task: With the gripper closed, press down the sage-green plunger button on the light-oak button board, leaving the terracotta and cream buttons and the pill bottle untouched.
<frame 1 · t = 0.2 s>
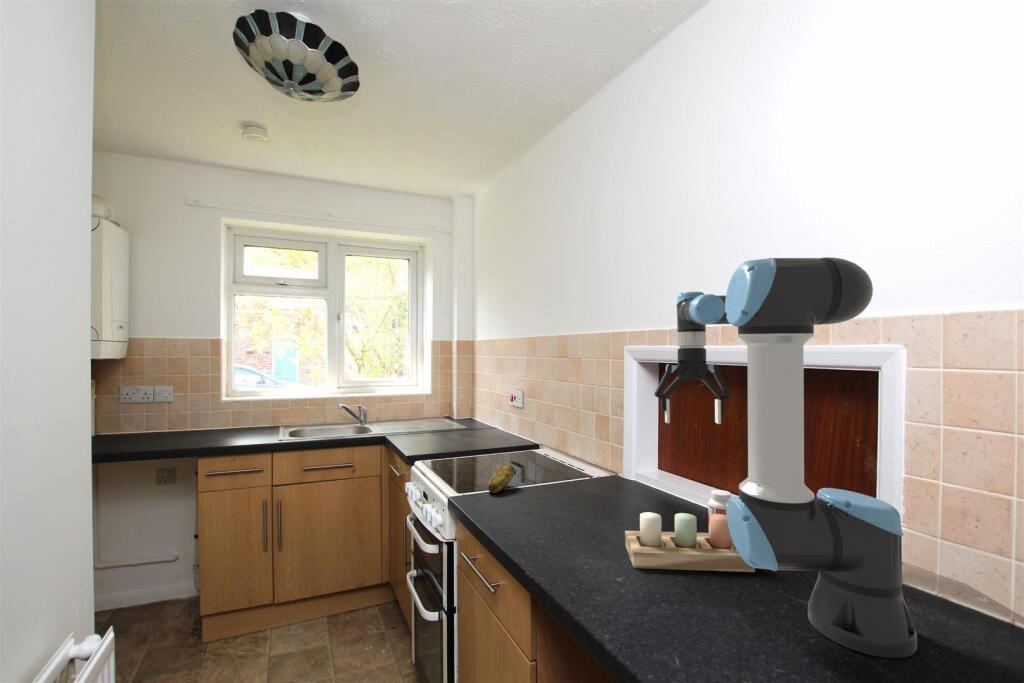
hand: (692, 423, 130), 28 cm above the worktop, fingers open, 13 cm apart
button terracotta: (721, 530, 107), point 7 cm above the worktop, slide at 0.0 cm
potato: (500, 490, 160), on the worktop
button cream: (650, 528, 109), point 7 cm above the worktop, slide at 0.0 cm
pill bottle: (721, 535, 121), on the worktop
button green: (685, 529, 108), point 7 cm above the worktop, slide at 0.0 cm
board: (685, 557, 108), on the worktop
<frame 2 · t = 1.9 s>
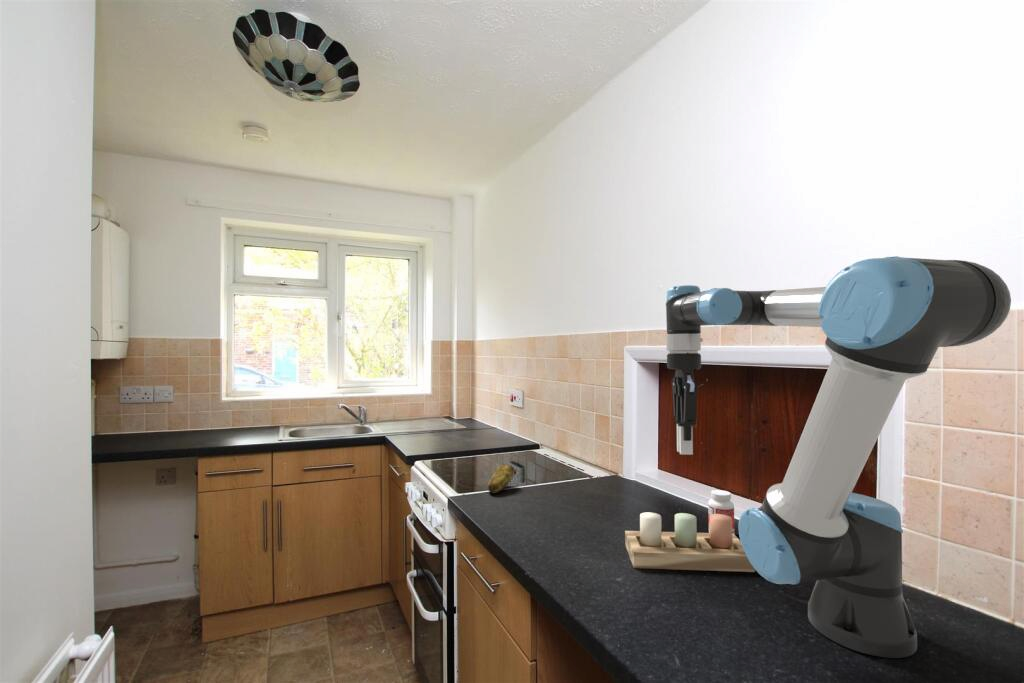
hand: (684, 452, 108), 24 cm above the worktop, fingers closed
nothing on the worktop moved.
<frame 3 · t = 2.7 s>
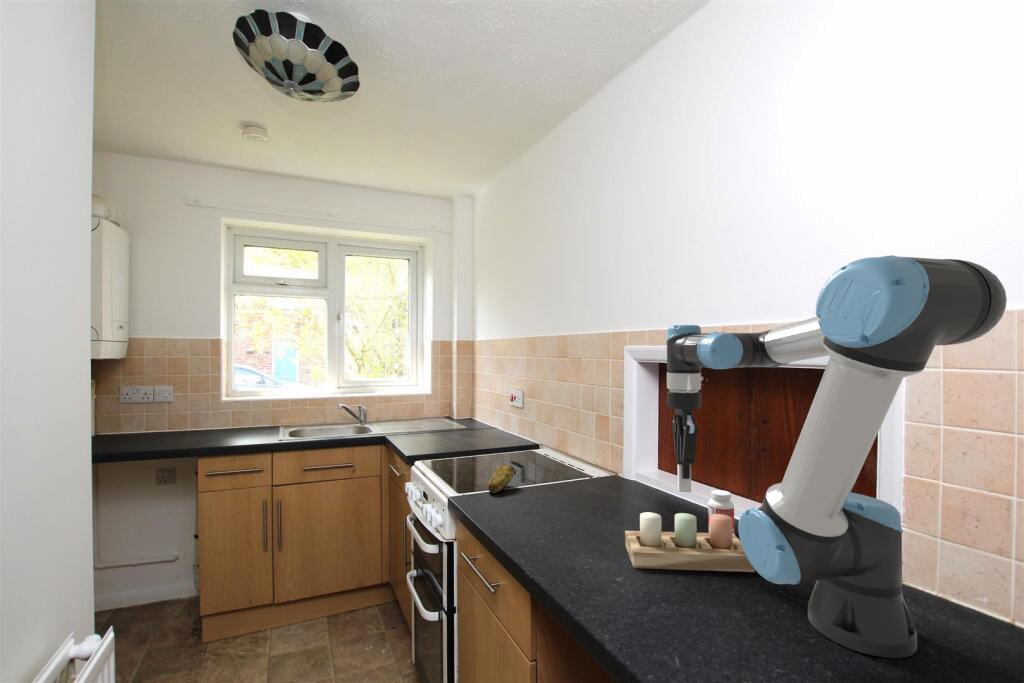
hand: (684, 491, 109), 15 cm above the worktop, fingers closed
nothing on the worktop moved.
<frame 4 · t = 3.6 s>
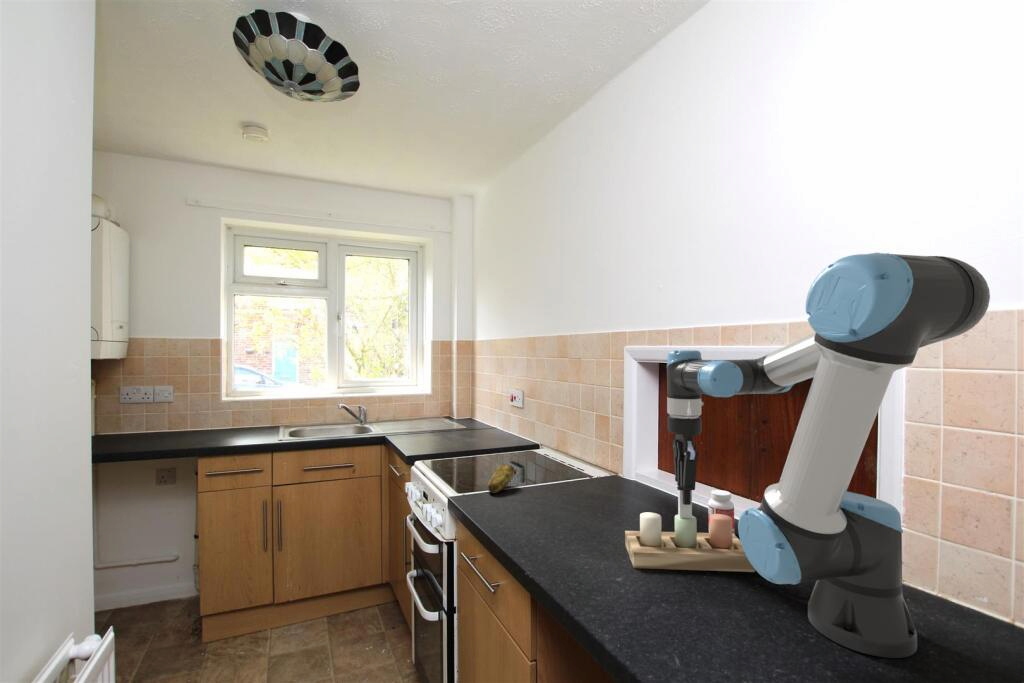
hand: (685, 516, 108), 10 cm above the worktop, fingers closed
button green: (685, 530, 108), point 6 cm above the worktop, slide at 0.2 cm, touching gripper
everything else where it was.
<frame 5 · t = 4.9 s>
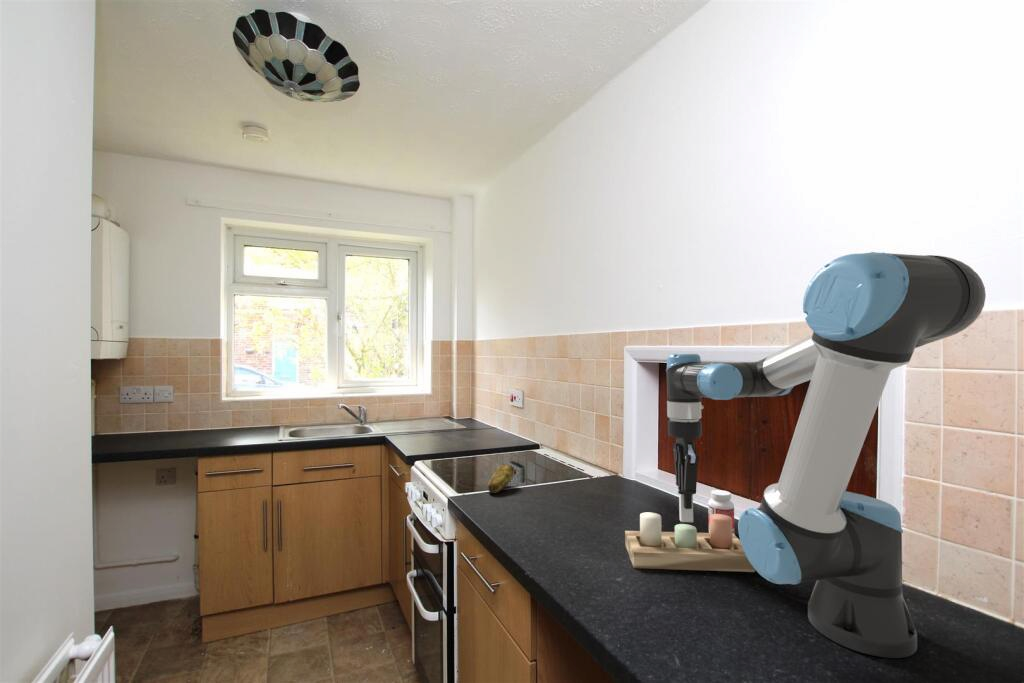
hand: (686, 520, 108), 9 cm above the worktop, fingers closed
button green: (685, 540, 108), point 4 cm above the worktop, slide at 2.6 cm
everything else where it was.
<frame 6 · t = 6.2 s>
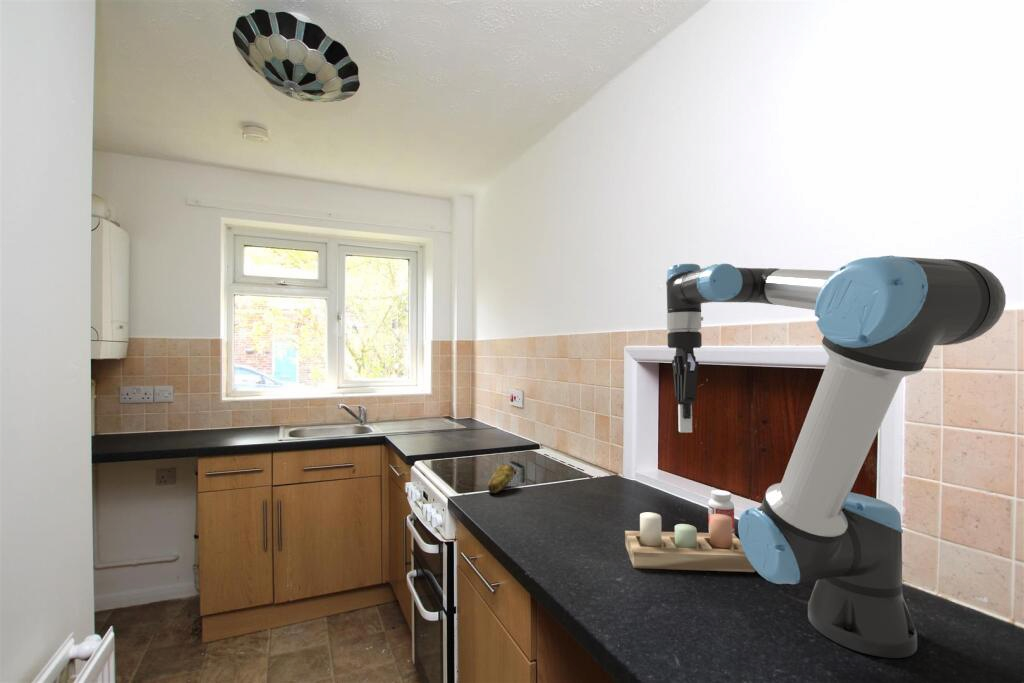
hand: (685, 431, 108), 29 cm above the worktop, fingers closed
nothing on the worktop moved.
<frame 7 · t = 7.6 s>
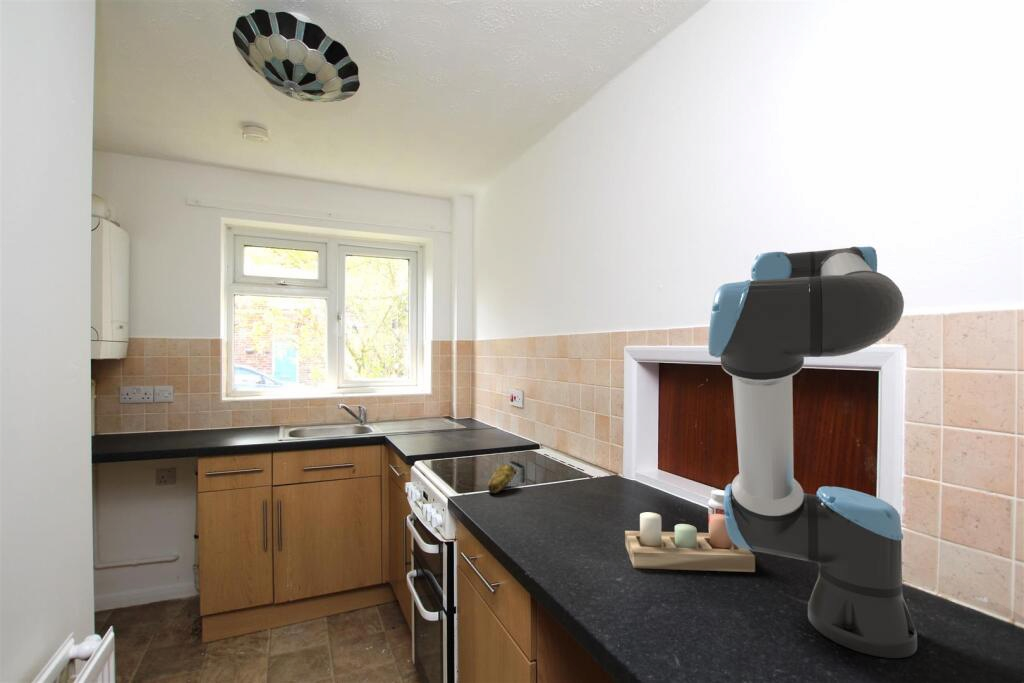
hand: (774, 416, 111), 32 cm above the worktop, fingers closed
nothing on the worktop moved.
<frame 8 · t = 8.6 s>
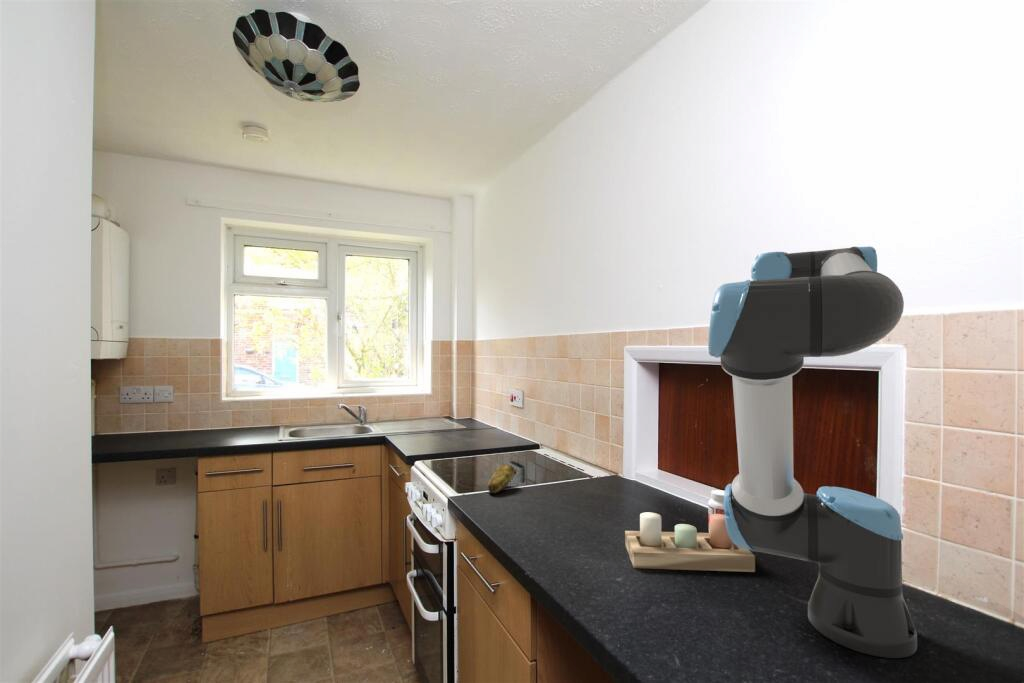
hand: (774, 416, 111), 32 cm above the worktop, fingers closed
nothing on the worktop moved.
at the end: button green slide at 2.6 cm; button terracotta slide at 0.0 cm; button cream slide at 0.0 cm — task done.
